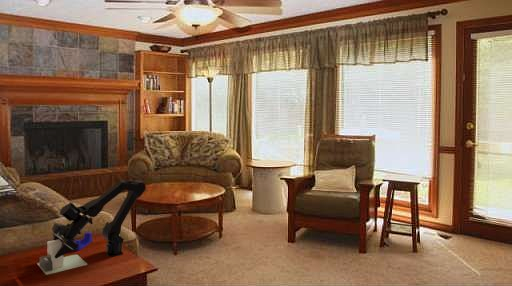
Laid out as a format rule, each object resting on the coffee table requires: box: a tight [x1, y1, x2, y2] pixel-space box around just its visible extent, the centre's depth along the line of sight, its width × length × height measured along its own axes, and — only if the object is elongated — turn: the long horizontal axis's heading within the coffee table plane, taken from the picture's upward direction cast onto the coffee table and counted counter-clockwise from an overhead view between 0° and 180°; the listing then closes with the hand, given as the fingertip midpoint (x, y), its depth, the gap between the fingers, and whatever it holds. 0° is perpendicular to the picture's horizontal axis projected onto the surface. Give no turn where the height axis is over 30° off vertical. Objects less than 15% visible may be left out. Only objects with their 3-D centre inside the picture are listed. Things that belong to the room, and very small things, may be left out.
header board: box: [36, 254, 88, 276], centre depth 198 cm, size 18×14×5 cm
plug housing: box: [46, 239, 64, 269], centre depth 195 cm, size 5×6×11 cm
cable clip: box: [73, 232, 93, 252], centre depth 219 cm, size 12×4×6 cm, turn 171°
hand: (51, 254), depth 194 cm, fingers open, 9 cm apart
